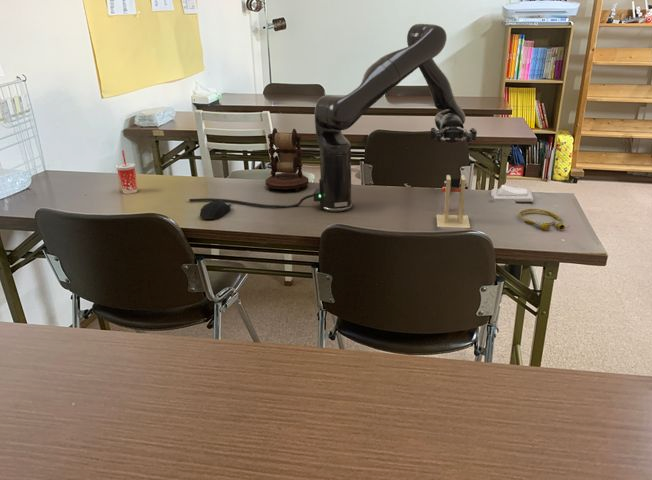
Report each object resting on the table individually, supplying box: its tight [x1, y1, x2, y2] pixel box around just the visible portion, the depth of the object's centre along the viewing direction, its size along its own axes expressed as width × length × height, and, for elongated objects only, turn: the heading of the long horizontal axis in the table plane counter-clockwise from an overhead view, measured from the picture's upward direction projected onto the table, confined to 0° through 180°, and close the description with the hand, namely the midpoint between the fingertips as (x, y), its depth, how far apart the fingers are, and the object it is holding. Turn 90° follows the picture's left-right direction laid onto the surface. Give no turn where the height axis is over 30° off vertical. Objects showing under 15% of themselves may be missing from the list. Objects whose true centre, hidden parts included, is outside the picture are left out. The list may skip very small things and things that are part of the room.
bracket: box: [436, 174, 471, 229], centre depth 155 cm, size 10×9×14 cm
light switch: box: [490, 184, 534, 203], centre depth 180 cm, size 11×4×13 cm
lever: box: [441, 178, 461, 193], centre depth 158 cm, size 13×6×2 cm, turn 174°
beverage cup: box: [115, 150, 138, 195], centre depth 186 cm, size 6×6×14 cm
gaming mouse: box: [199, 200, 232, 220], centre depth 168 cm, size 6×15×4 cm, turn 163°
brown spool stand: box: [264, 127, 310, 192], centre depth 188 cm, size 15×15×20 cm
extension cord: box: [518, 208, 565, 231], centre depth 160 cm, size 12×16×2 cm
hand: (454, 139), depth 169 cm, fingers open, 8 cm apart
